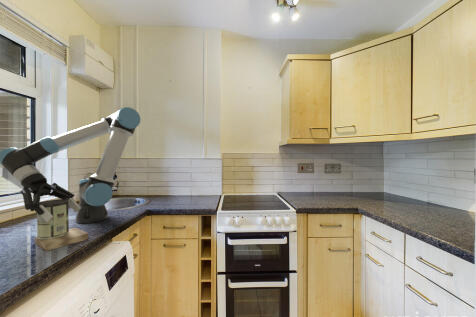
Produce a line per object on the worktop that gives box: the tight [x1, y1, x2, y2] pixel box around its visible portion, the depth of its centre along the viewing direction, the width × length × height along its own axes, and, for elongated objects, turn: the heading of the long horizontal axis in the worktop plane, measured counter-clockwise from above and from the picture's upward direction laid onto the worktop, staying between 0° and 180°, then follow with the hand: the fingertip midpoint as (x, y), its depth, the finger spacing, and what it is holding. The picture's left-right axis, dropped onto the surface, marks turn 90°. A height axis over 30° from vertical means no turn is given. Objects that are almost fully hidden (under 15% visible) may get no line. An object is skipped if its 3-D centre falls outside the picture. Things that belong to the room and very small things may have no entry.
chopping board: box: [34, 227, 89, 252], centre depth 90 cm, size 14×13×2 cm
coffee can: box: [36, 198, 70, 240], centre depth 90 cm, size 10×10×14 cm
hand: (65, 214), depth 90 cm, fingers open, 13 cm apart
